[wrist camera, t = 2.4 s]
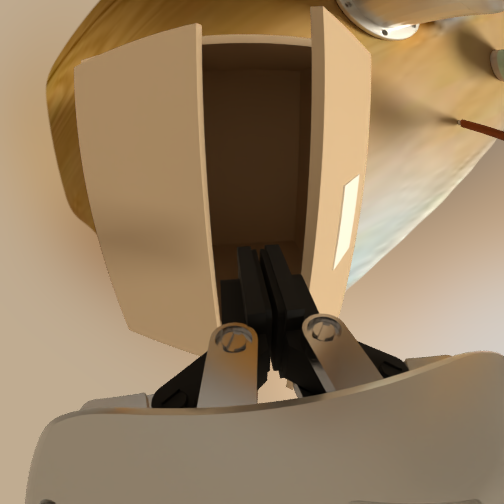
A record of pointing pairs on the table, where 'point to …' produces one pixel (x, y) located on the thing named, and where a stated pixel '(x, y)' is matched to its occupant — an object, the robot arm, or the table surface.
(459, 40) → the table surface
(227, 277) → the carton
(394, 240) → the table surface
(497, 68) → the coffee cup
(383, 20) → the robot arm
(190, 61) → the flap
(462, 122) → the magnifying glass
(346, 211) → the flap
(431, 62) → the table surface
